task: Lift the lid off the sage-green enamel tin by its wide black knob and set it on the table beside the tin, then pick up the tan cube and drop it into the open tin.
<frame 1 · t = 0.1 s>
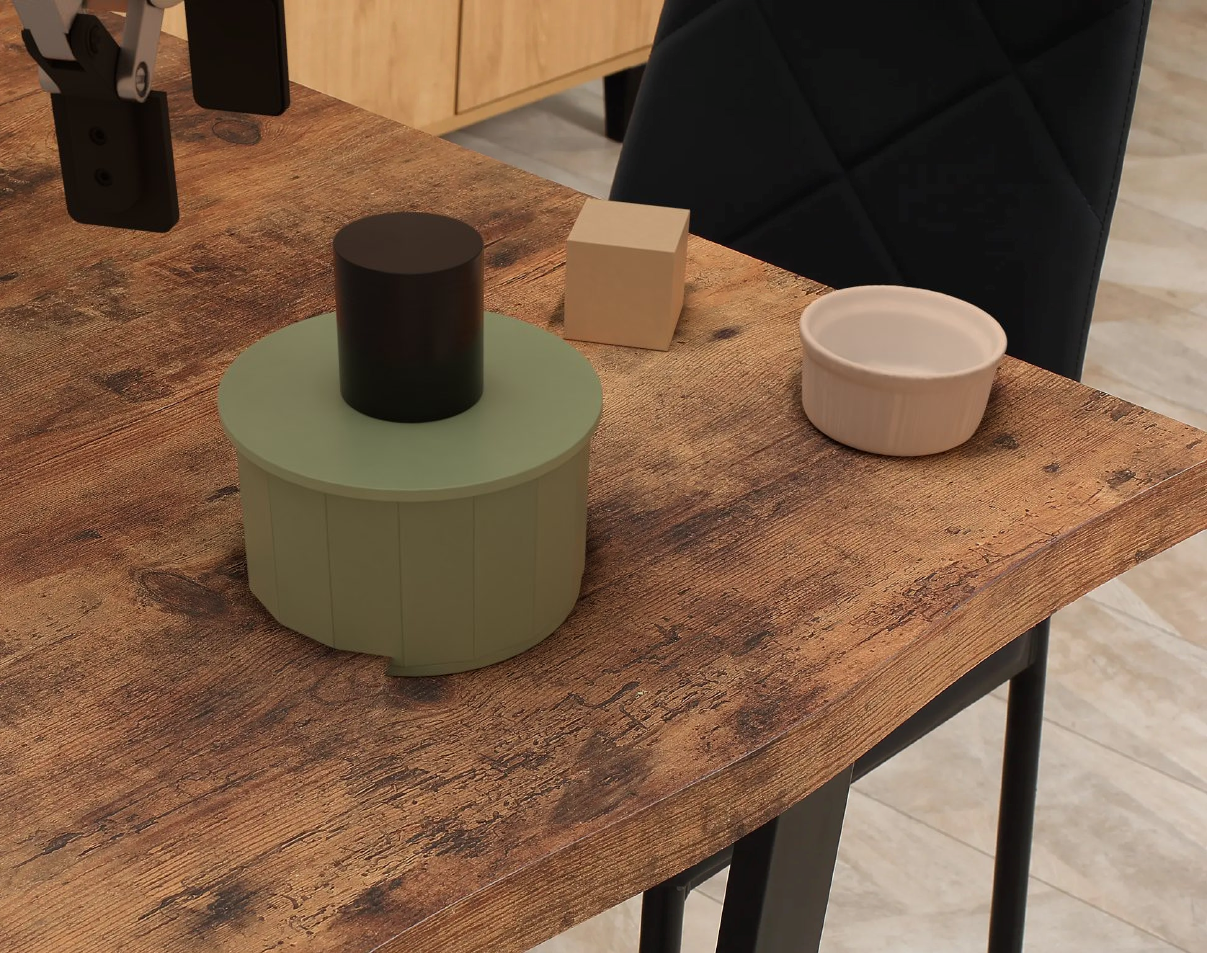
hand: (188, 163, 54), 17 cm above the table, tool pointing down, fingers open, 9 cm apart
tin: (416, 575, 65), on the table
tin lid: (412, 400, 61), point 7 cm above the table, touching tin
tan cube: (624, 321, 83), on the table
ramekin: (888, 419, 77), on the table
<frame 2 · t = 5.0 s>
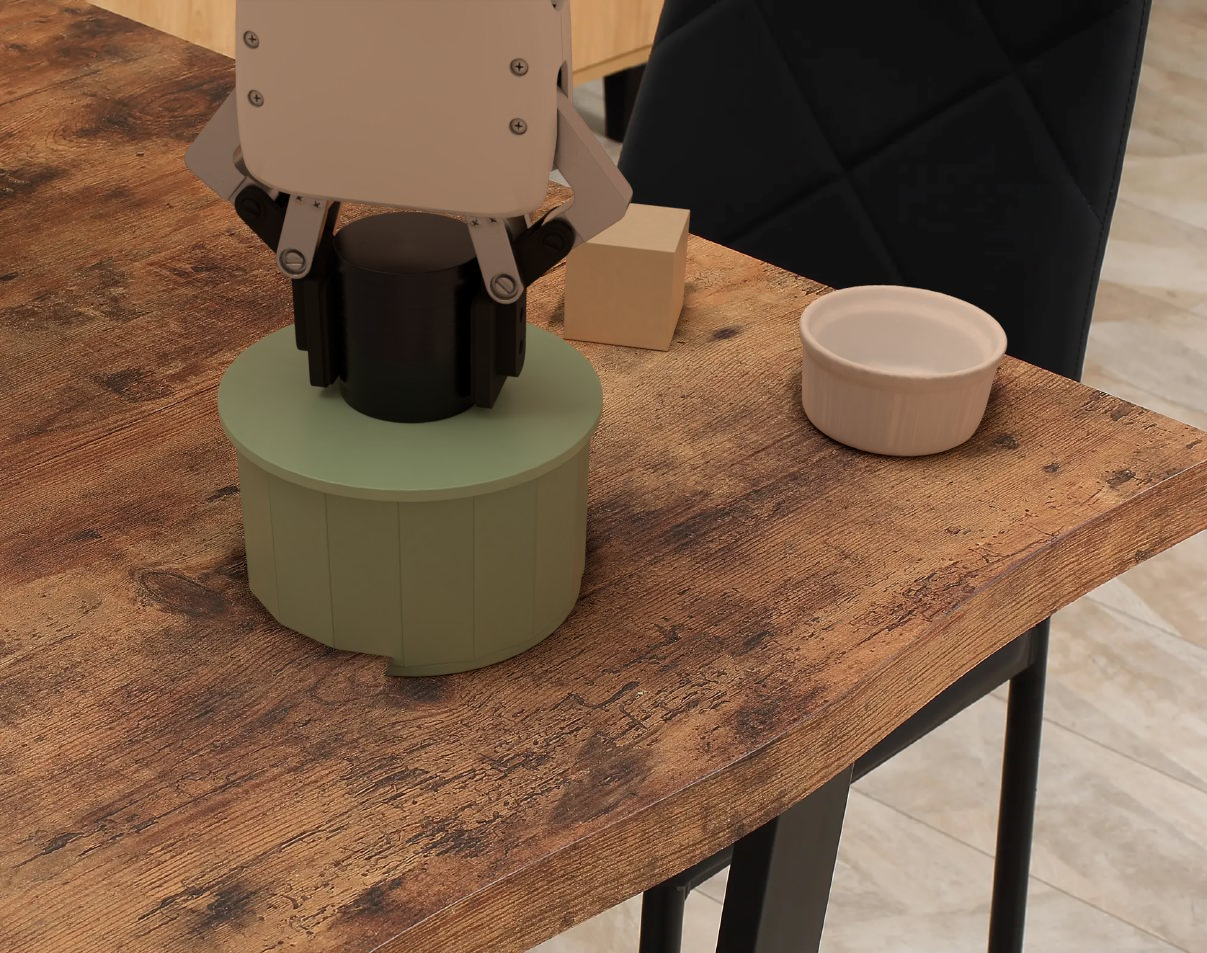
hand: (411, 374, 60), 9 cm above the table, tool pointing down, fingers closed on tin lid, 5 cm apart
tin lid: (412, 400, 61), point 8 cm above the table, touching gripper, tin
everything else where it was.
when the fingers open (2 cm above the table, at t = 14.4 s): tin lid stays where it is, point 1 cm above the table.
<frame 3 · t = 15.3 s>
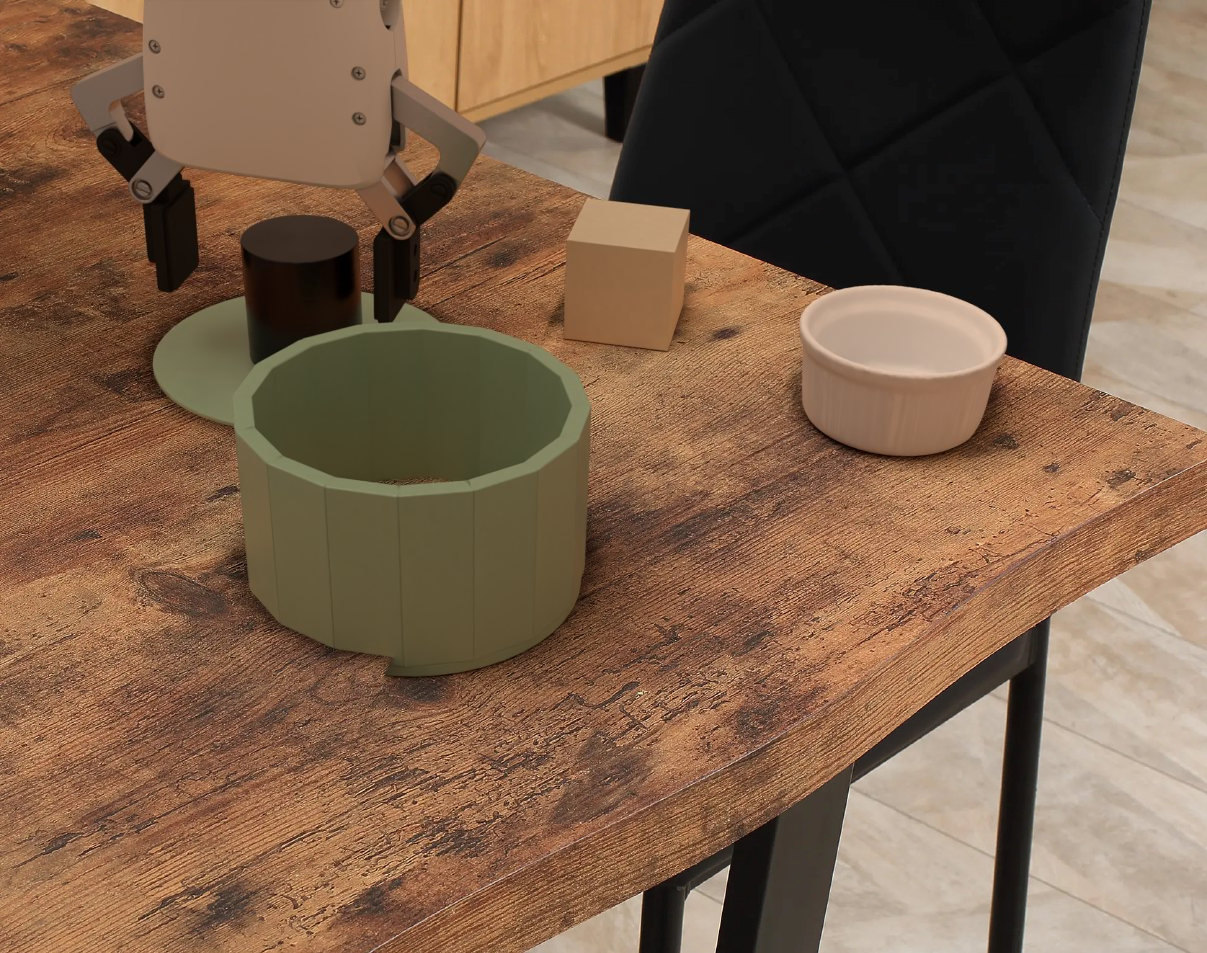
hand: (284, 295, 75), 4 cm above the table, tool pointing down, fingers open, 9 cm apart
tin lid: (307, 363, 77), point 1 cm above the table
everything else where it was.
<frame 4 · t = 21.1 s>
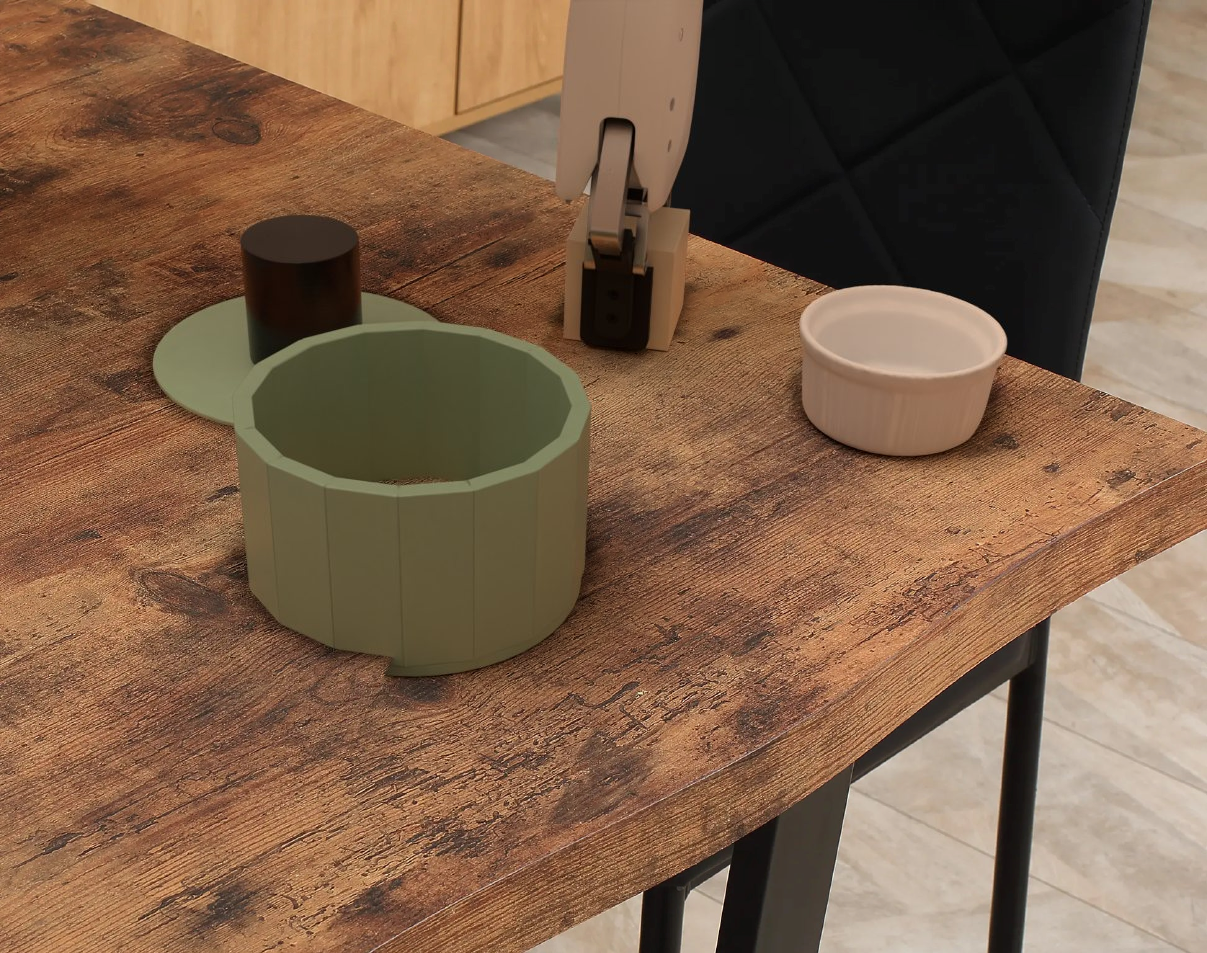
hand: (624, 313, 83), 0 cm above the table, tool pointing down, fingers closed on tan cube, 5 cm apart
tan cube: (624, 321, 83), on the table, touching gripper
everything else where it was.
when the fingers open (6 cm above the table, at t = 28.8 s): tan cube drops 5 cm, resting on tin.
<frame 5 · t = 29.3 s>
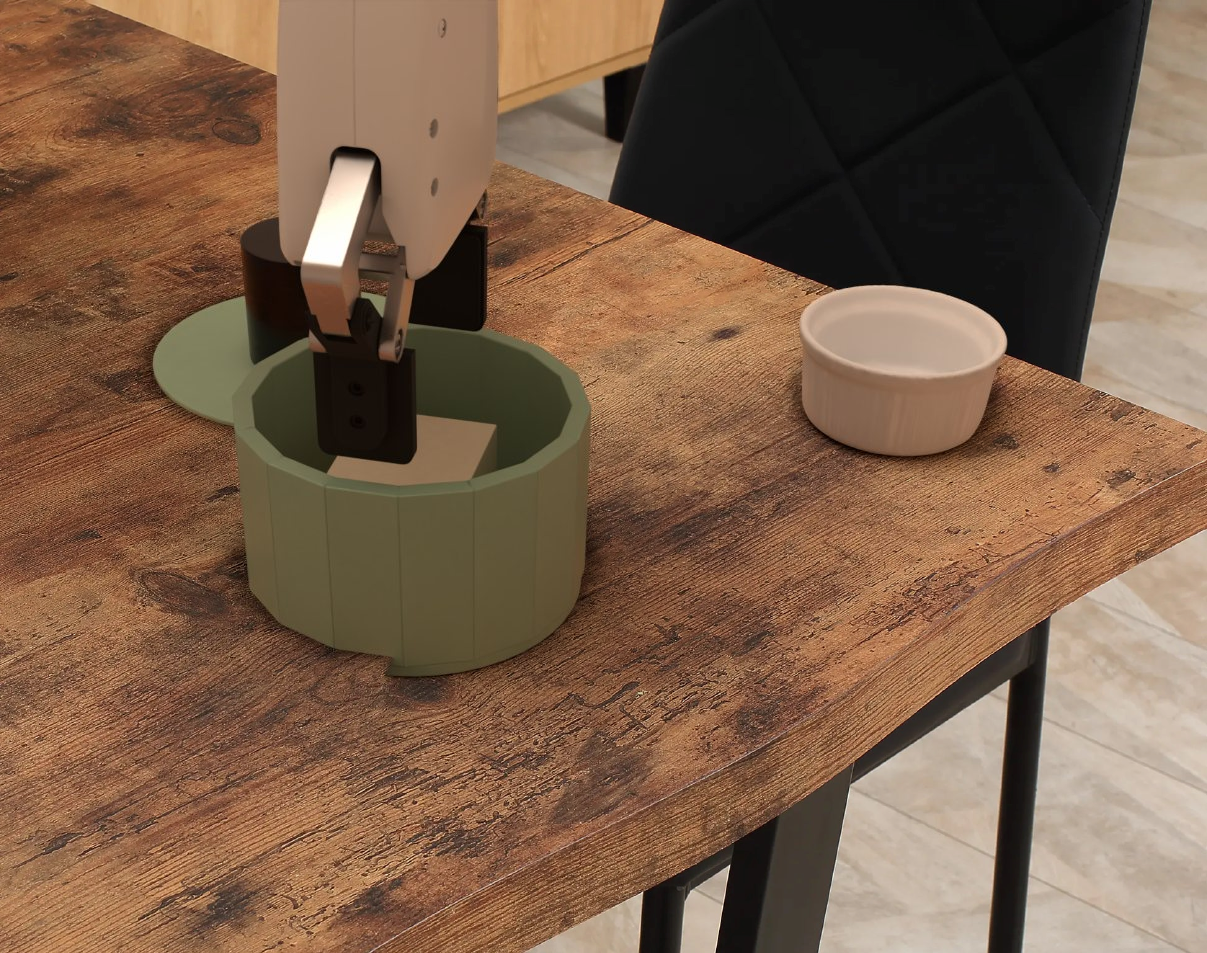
hand: (408, 385, 60), 8 cm above the table, tool pointing down, fingers open, 9 cm apart
tan cube: (416, 564, 65), resting on tin
everything else where it was.
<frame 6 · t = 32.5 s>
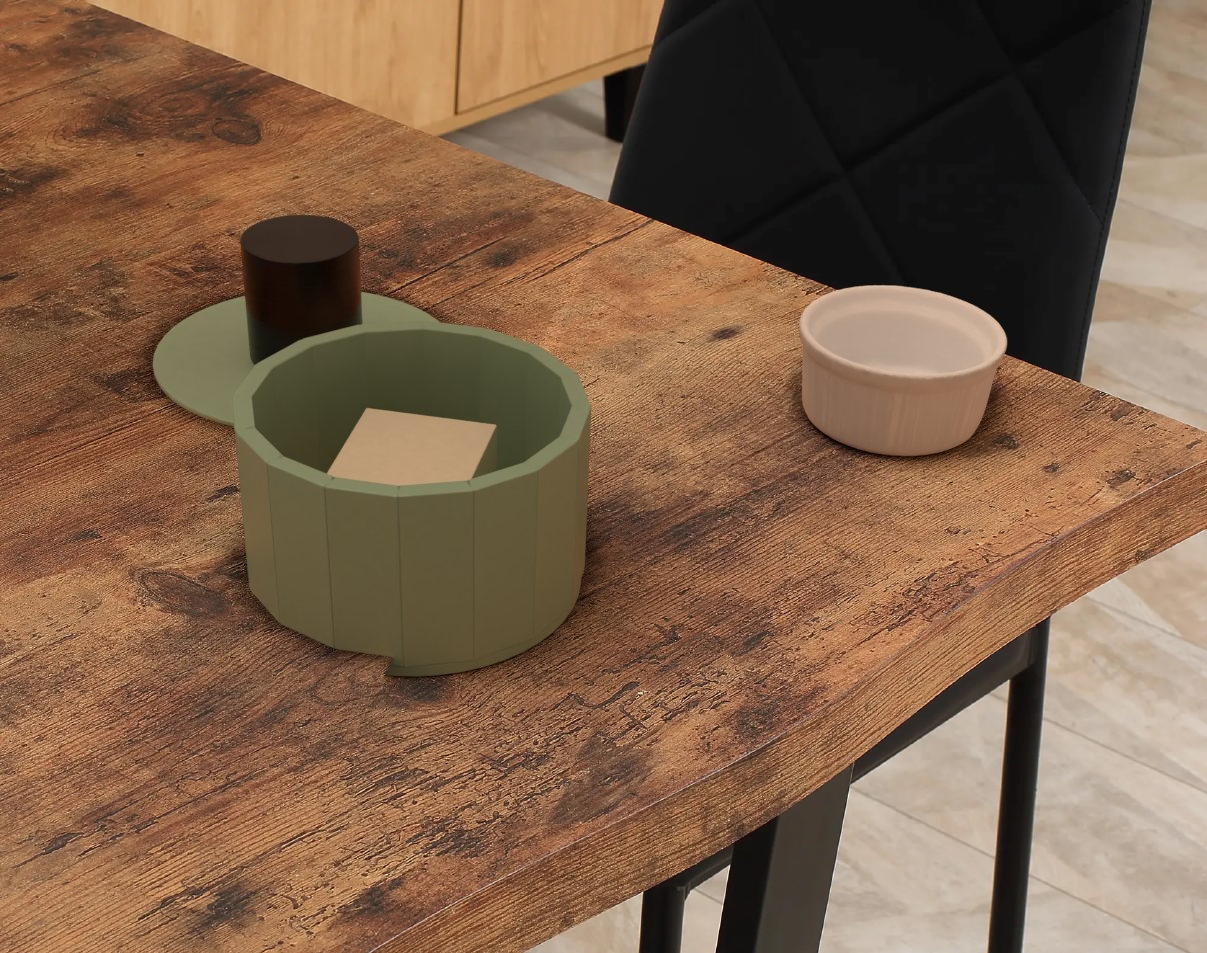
nothing on the table moved.
at the end: tin lid inside the target area on the table beside the tin (0.2 cm from its centre), point 0.6 cm above the table; tan cube inside the target area in the tin (0.0 cm from its centre), point 0.5 cm above the tin's base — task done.
